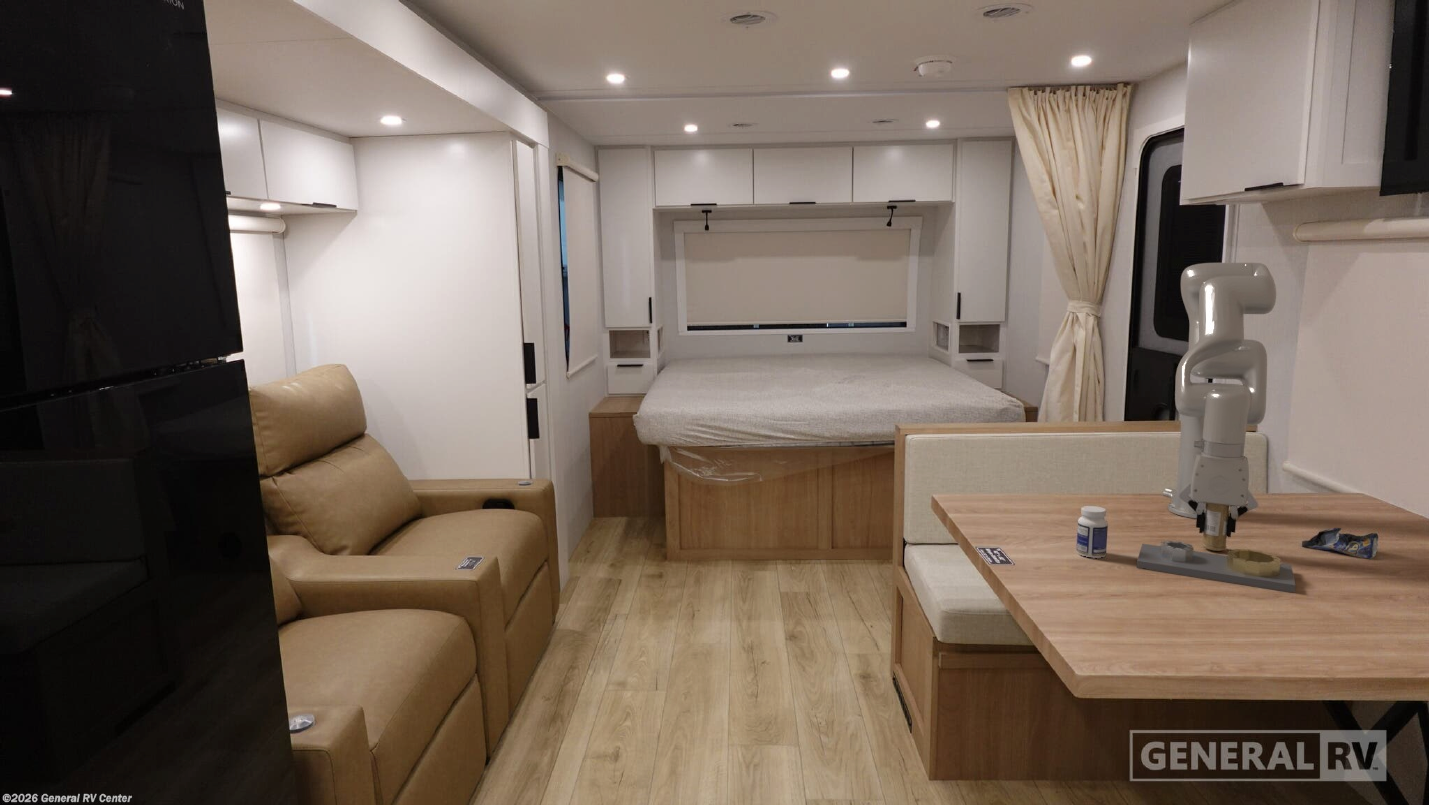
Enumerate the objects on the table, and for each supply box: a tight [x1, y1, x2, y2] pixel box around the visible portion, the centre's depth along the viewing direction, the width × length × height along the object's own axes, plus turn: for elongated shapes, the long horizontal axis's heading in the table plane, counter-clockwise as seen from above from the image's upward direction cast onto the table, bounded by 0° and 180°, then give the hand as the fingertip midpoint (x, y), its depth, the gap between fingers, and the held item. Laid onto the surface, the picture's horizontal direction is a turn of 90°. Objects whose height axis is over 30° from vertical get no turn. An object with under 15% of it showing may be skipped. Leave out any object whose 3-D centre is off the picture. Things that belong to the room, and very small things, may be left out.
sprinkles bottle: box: [1201, 503, 1230, 552], centre depth 174 cm, size 5×5×14 cm
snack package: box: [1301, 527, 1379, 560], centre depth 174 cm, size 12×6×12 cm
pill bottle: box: [1075, 505, 1109, 559], centre depth 173 cm, size 6×6×10 cm
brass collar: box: [1226, 548, 1281, 577], centre depth 160 cm, size 8×8×2 cm
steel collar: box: [1159, 540, 1195, 562], centre depth 167 cm, size 6×6×2 cm
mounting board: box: [1136, 543, 1296, 594], centre depth 164 cm, size 26×12×2 cm, turn 58°
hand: (1214, 532), depth 175 cm, fingers closed on sprinkles bottle, 4 cm apart
